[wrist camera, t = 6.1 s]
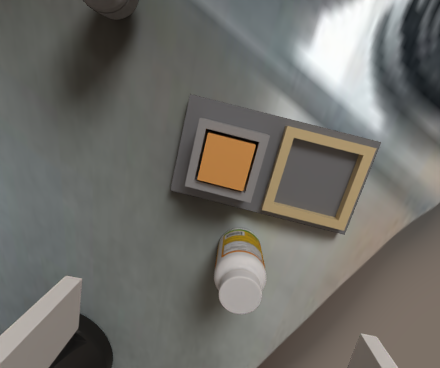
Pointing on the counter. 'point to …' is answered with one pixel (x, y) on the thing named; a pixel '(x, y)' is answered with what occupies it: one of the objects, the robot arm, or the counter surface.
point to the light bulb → (113, 7)
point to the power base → (278, 165)
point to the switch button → (226, 161)
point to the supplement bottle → (239, 271)
